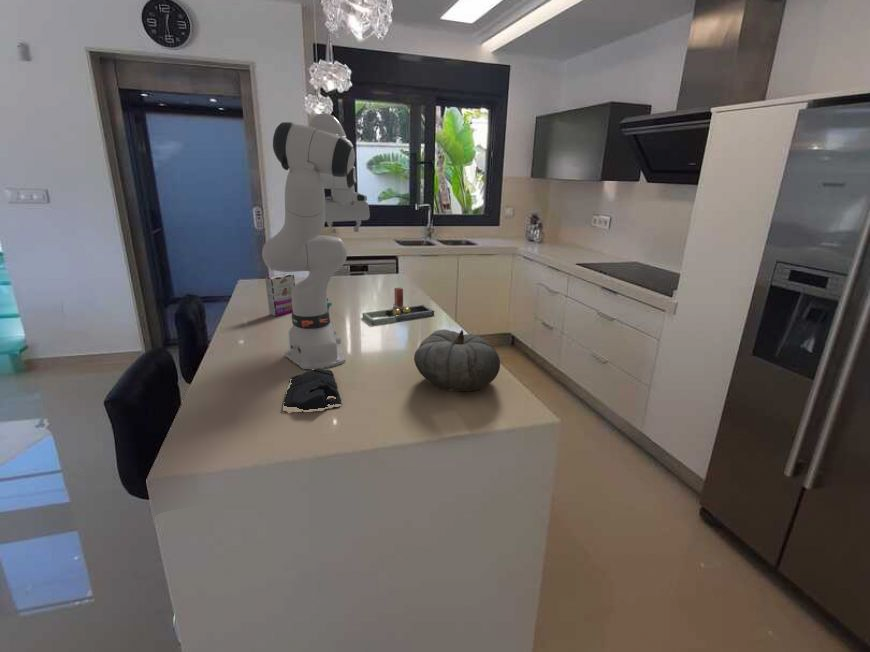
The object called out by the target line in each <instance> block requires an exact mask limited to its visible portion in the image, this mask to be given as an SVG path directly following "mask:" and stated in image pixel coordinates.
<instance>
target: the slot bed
mask: <svg viewBox="0 0 870 652" xmlns="http://www.w3.org/2000/svg"><path fill="white" fill-rule="evenodd" d="M405 307H406V306H404V308H405ZM407 307H408V308H409V309H410V310H411V313H410V314H403V312H402V311H403V309H404V308H397V309H399V310H400V311H401V315H396V316H395V317H396V322H400V321H402V322H403V321H407V320H413V319H420V318H426V317H433V316H435V310H434V309H432V308H430V307H428V306H426V305H424V304H420V305H419V304H418V305H413V306H407ZM394 309H395V308H392V309H391V308H390V309H385V310H386V315H385V316H387V317H393V310H394Z"/></svg>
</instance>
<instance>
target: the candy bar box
mask: <svg viewBox="0 0 870 652" xmlns="http://www.w3.org/2000/svg"><path fill="white" fill-rule="evenodd" d="M295 285H296V282H295V274H293V273H291V272H284V273H280V274H276V275H271V276H270V275H269V276H267V277H265V286H266V294H267V304H268V310H269V315H270V316H273V317H280V316H285V315H287V314H290V313H291V314H292V312H293V308H292V297H291V292H292V289H293V287H294V286H295Z"/></svg>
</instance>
